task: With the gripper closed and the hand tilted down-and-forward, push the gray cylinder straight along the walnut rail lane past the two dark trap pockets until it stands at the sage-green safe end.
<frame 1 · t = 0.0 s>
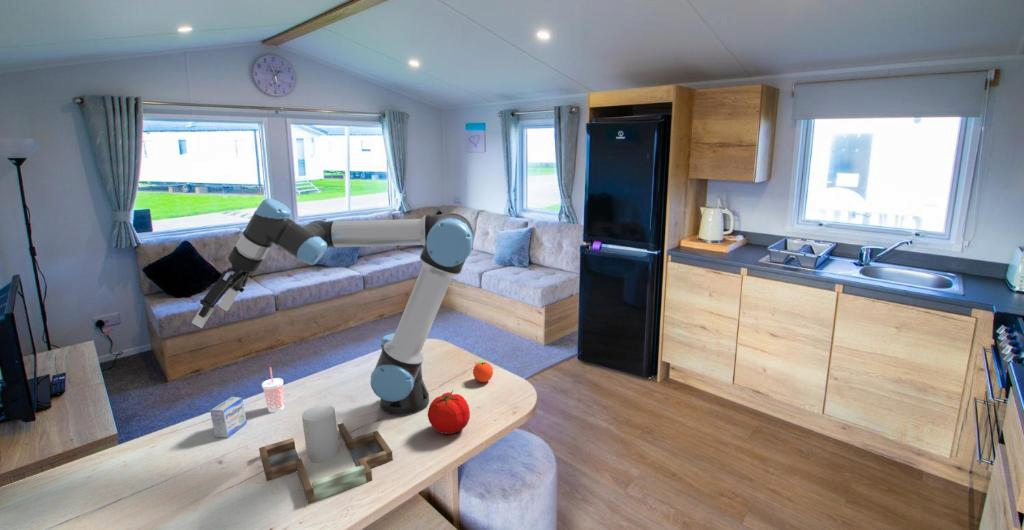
hand: (210, 316, 138), 36 cm above the table, tool tilted 35°, fingers open, 13 cm apart
gray cylinder: (323, 453, 137), resting in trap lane
clementine: (482, 381, 176), on the table
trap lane: (326, 460, 133), on the table
medicine box: (231, 430, 149), on the table
tomato: (449, 430, 146), on the table
beverage cup: (276, 409, 160), on the table
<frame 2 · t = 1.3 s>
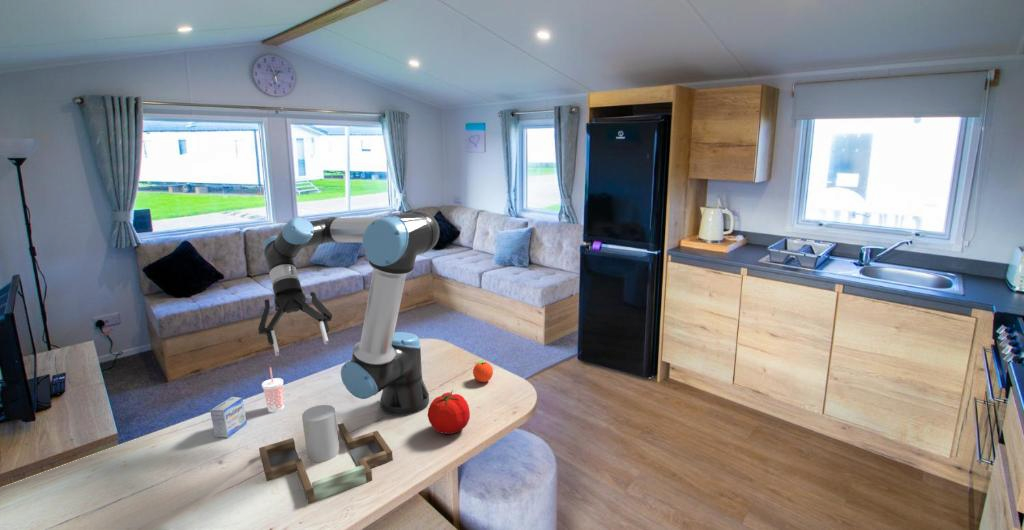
hand: (302, 348, 142), 25 cm above the table, tool tilted 45°, fingers open, 12 cm apart
nothing on the table moved.
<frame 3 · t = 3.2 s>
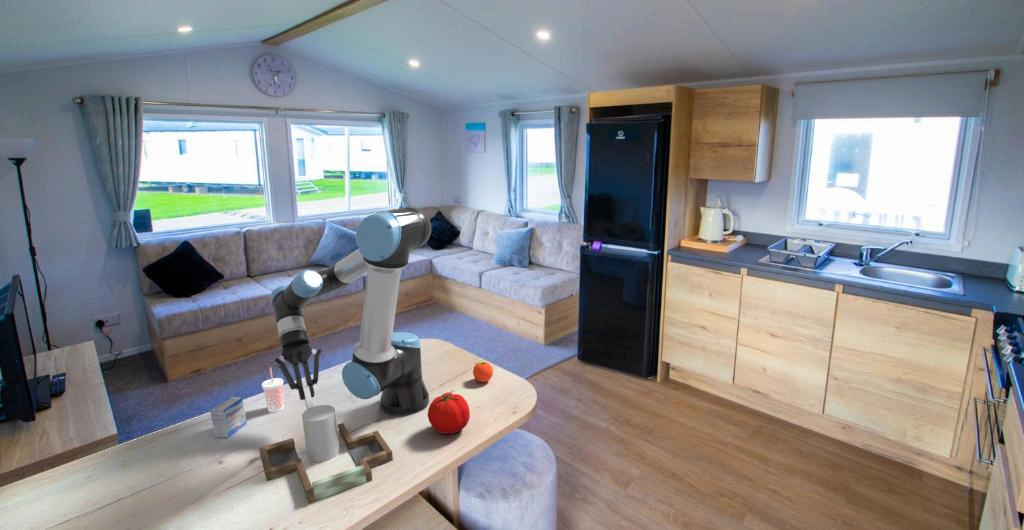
hand: (310, 409, 143), 9 cm above the table, tool tilted 45°, fingers closed
nothing on the table moved.
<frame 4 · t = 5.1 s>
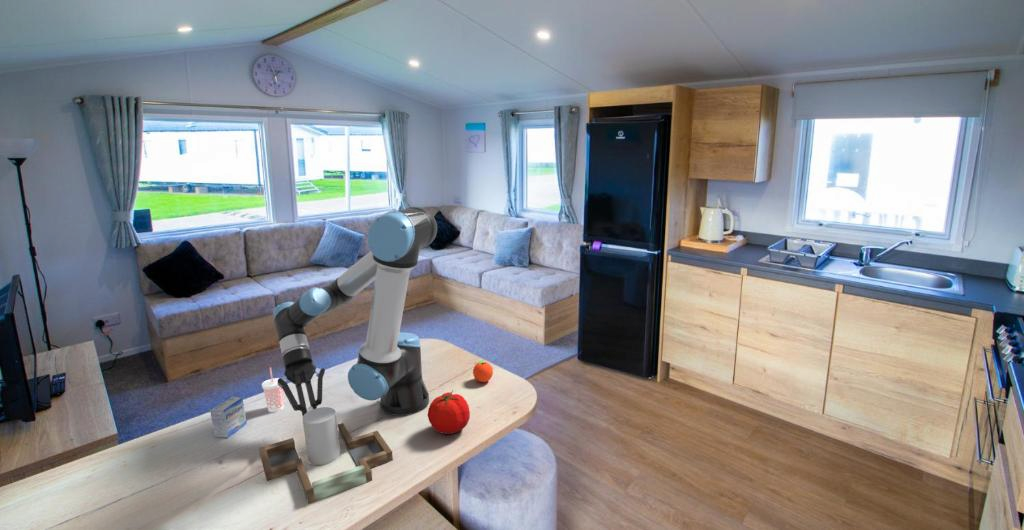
hand: (314, 431, 138), 5 cm above the table, tool tilted 45°, fingers closed
gray cylinder: (324, 456, 136), resting in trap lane, touching gripper
everything else where it was.
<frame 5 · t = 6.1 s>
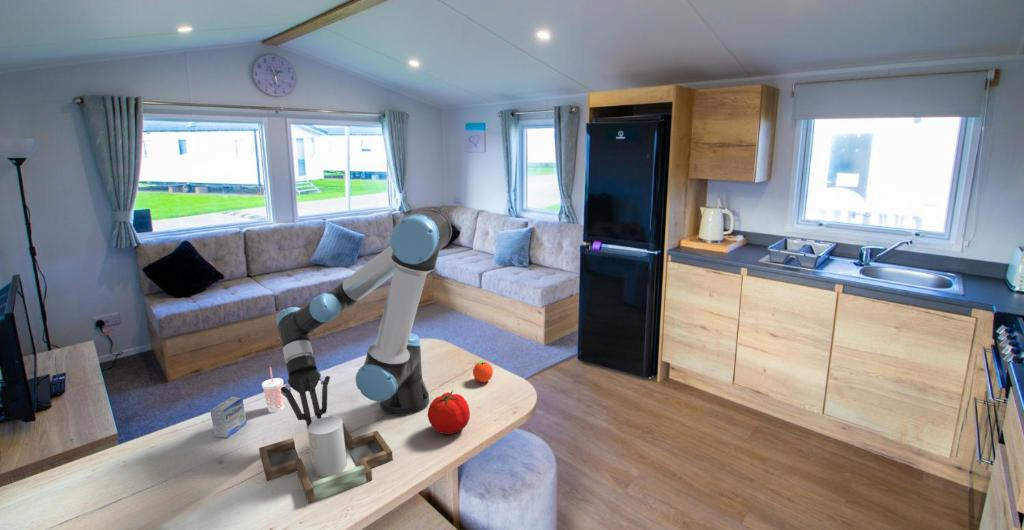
hand: (318, 441, 133), 5 cm above the table, tool tilted 45°, fingers closed
gray cylinder: (330, 467, 131), resting in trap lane, touching gripper
everything else where it was.
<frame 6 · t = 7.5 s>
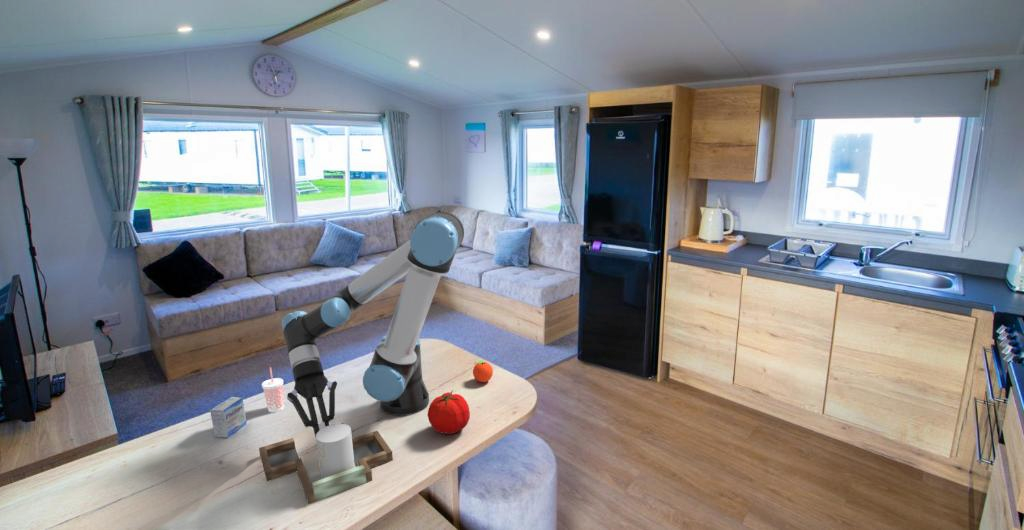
hand: (326, 448, 130), 5 cm above the table, tool tilted 45°, fingers closed
gray cylinder: (338, 476, 127), resting in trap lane, touching gripper
everything else where it was.
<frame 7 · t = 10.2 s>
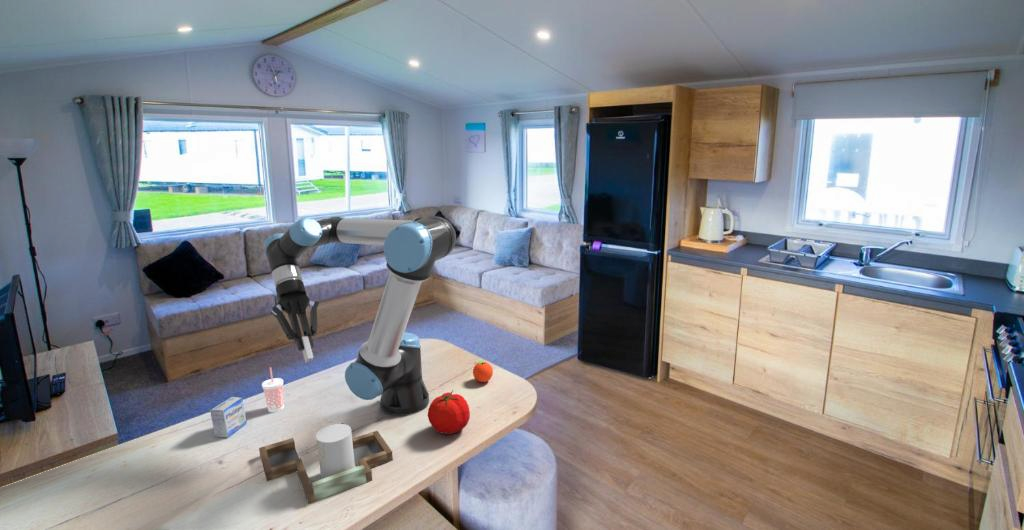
hand: (309, 360, 138), 24 cm above the table, tool tilted 40°, fingers closed
gray cylinder: (338, 476, 127), resting in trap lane
everything else where it was.
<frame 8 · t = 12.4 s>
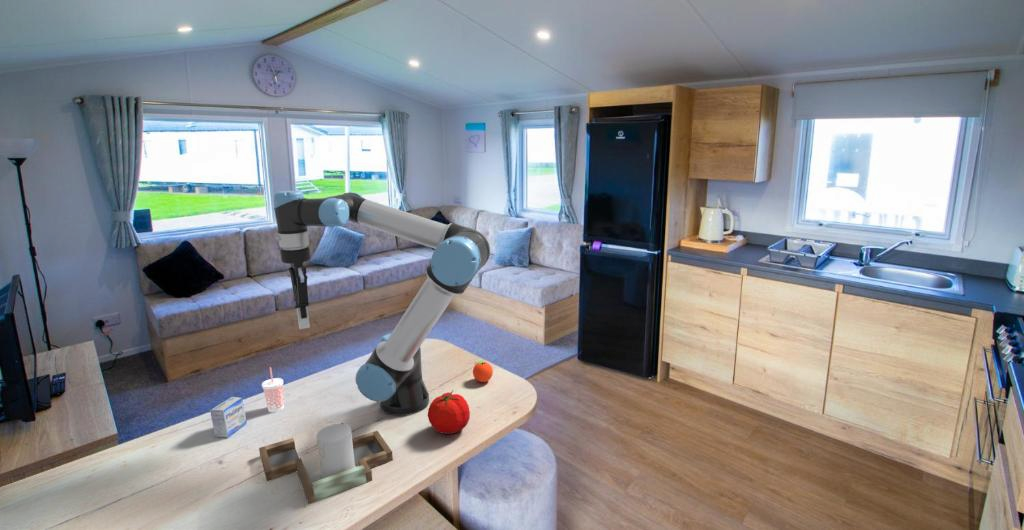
hand: (304, 327, 146), 29 cm above the table, tool pointing down, fingers closed
nothing on the table moved.
at the end: gray cylinder inside the target area (1.1 cm from its centre), resting in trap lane; gray cylinder tilted 0°; gray cylinder moved 12.2 cm from its start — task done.
